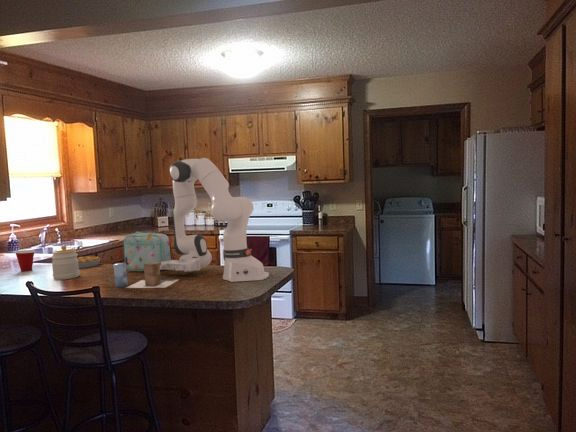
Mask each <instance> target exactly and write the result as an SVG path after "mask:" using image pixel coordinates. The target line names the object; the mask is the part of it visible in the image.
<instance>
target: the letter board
mask: <svg viewBox="0 0 576 432" xmlns="http://www.w3.org/2000/svg"><path fill="white" fill-rule="evenodd" d="M179 280H180V279H178V278H177V279H176V278H175V279H173V278H172V279H161V284H158V285H155V286H147V285H145V279H141V280H139V281H137V282H135V283H133V284H130V285H128V286H126V287H125V289H144V288H145V289H147V288H149V289H150V288H153V289H154V288H155V289H157V288H159V289H160V288H161V289H162V288H168V287H169V286H171V285H172V284H175V283H176V282H178V281H179Z"/></svg>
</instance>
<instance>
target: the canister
mask: <svg viewBox="0 0 576 432" xmlns="http://www.w3.org/2000/svg"><path fill="white" fill-rule="evenodd" d="M127 270H128V269H127V268H126V263H125V262H117V263H114V264H113V273H114V275H113V276H114V286H115V288H126V287H128V286H129V284H128V283H129V282H128V273H127Z"/></svg>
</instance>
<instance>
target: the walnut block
mask: <svg viewBox="0 0 576 432" xmlns="http://www.w3.org/2000/svg"><path fill="white" fill-rule="evenodd" d="M143 273H144V280H145V285H147V286H155V285H158V284H161V280H162V279H161V270H160V265H159V263H155V262H151V263H147V264H144V271H143Z"/></svg>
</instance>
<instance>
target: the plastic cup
mask: <svg viewBox="0 0 576 432" xmlns="http://www.w3.org/2000/svg"><path fill="white" fill-rule="evenodd" d="M14 253H15V255H16V258H17V263H18V267H19V269H20V271H21V272H30V271H32V270H33V265H34V256H35V253H36V250H33V249H28V250H27V249H26V250H15V251H14Z"/></svg>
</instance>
